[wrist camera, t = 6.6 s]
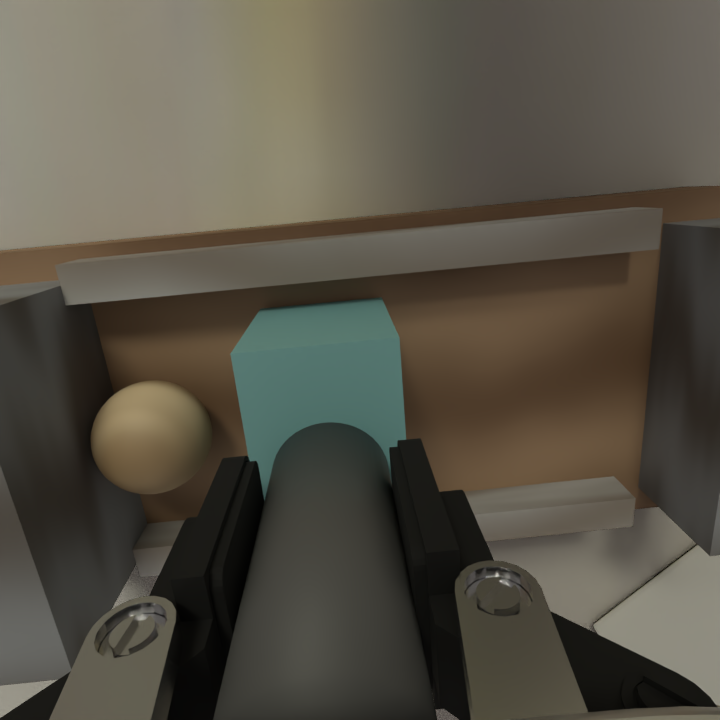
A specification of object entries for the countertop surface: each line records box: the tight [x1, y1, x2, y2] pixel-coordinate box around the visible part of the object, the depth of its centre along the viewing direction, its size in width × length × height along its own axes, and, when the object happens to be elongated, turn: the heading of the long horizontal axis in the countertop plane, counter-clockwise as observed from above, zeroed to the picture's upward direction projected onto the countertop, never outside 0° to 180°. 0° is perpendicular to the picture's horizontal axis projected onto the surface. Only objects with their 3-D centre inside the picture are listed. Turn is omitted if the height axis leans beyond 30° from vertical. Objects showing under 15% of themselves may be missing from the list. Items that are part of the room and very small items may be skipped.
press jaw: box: [213, 297, 437, 720], centre depth 12 cm, size 7×4×12 cm, turn 5°
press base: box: [0, 186, 720, 686], centre depth 16 cm, size 12×25×8 cm, turn 95°
